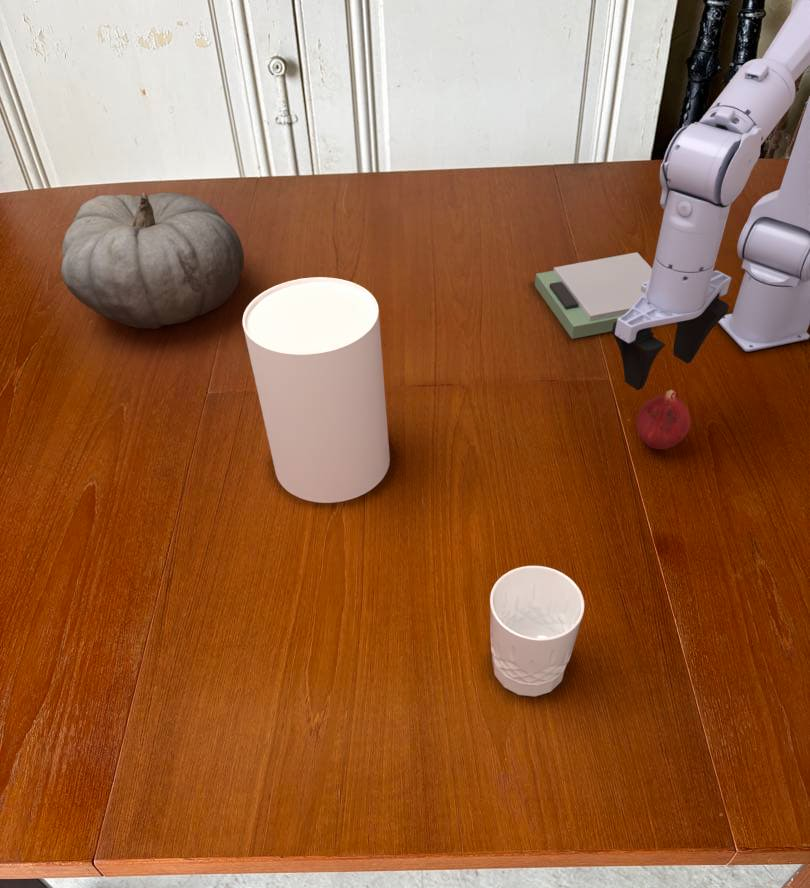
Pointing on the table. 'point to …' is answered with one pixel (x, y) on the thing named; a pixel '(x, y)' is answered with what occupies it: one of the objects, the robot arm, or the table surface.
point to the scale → (593, 292)
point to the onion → (663, 421)
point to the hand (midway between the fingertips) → (658, 371)
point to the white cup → (533, 628)
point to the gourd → (151, 258)
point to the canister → (320, 386)
